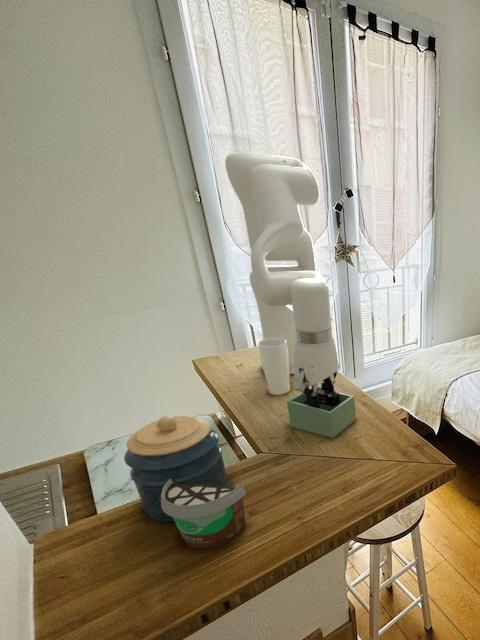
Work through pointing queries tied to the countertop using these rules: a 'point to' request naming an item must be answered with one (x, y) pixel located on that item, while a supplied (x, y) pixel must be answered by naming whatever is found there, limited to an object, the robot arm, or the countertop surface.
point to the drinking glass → (275, 364)
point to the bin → (322, 415)
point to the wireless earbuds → (327, 397)
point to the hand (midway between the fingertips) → (321, 402)
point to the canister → (173, 459)
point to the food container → (205, 512)
